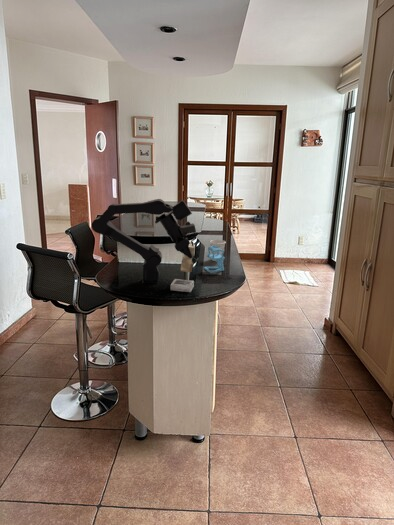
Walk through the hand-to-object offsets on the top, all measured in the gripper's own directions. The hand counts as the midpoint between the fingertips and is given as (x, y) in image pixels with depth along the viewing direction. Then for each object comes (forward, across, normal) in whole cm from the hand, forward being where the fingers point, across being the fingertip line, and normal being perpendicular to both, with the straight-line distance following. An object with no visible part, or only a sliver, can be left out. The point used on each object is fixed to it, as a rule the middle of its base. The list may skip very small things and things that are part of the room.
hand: (191, 256), depth 157 cm
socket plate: (+7, -8, +10) cm, 15 cm away
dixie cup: (+19, +33, -9) cm, 39 cm away
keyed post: (+4, 0, +6) cm, 7 cm away
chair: (+17, +15, -5) cm, 23 cm away
